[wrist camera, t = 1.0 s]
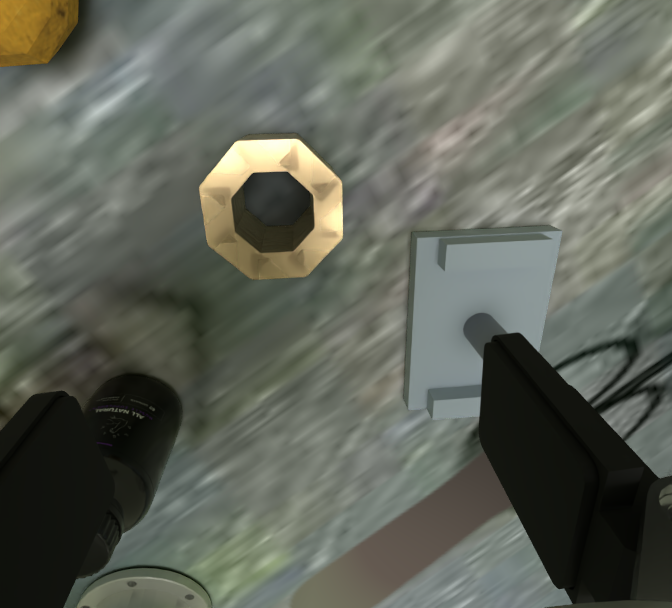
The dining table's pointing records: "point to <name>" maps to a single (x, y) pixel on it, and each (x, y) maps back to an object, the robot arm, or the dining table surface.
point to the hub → (248, 231)
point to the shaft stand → (471, 308)
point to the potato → (34, 29)
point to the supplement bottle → (130, 453)
